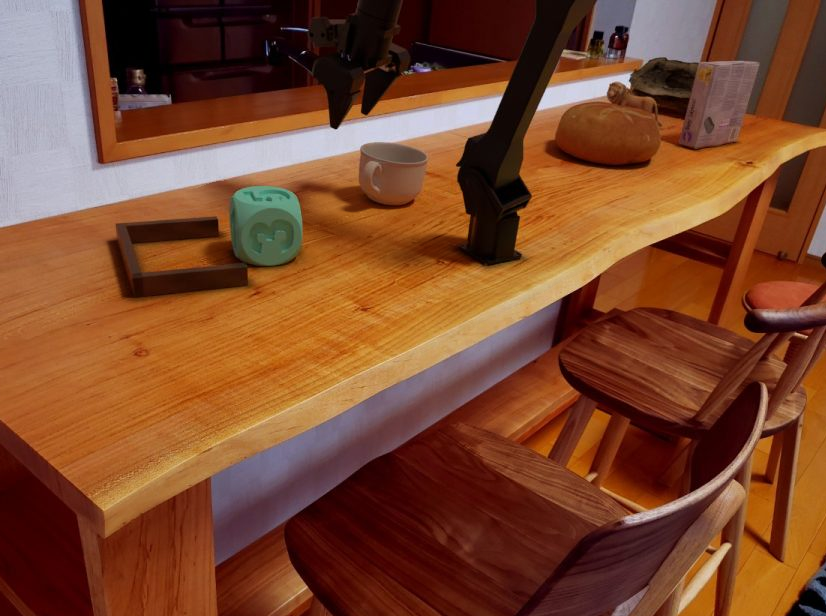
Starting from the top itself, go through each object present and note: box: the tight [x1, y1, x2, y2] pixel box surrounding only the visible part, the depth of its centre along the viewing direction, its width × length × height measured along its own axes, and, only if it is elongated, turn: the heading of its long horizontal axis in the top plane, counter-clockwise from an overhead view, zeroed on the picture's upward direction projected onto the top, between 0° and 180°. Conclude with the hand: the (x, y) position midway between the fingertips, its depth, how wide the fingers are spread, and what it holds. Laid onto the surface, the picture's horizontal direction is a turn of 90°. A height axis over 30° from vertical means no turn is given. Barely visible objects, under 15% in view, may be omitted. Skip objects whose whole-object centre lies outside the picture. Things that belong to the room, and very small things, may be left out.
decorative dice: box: [228, 185, 304, 267], centre depth 97 cm, size 8×8×8 cm
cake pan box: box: [678, 60, 761, 150], centre depth 167 cm, size 19×5×18 cm, turn 128°
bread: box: [554, 101, 662, 166], centre depth 153 cm, size 23×23×10 cm
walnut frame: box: [114, 215, 249, 298], centre depth 94 cm, size 13×17×2 cm
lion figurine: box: [606, 81, 663, 128], centre depth 181 cm, size 15×5×9 cm, turn 62°
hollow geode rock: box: [628, 56, 699, 115], centre depth 196 cm, size 28×13×15 cm
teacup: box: [358, 141, 429, 206], centre depth 118 cm, size 14×11×8 cm
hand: (349, 121), depth 111 cm, fingers open, 9 cm apart
